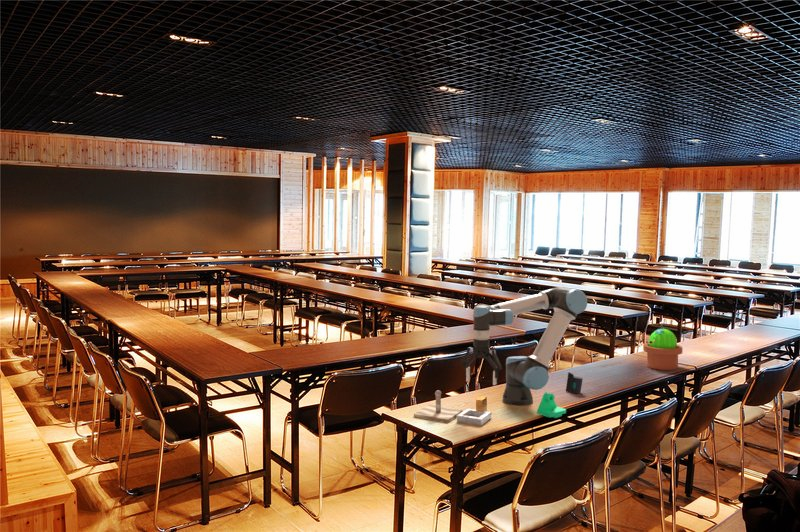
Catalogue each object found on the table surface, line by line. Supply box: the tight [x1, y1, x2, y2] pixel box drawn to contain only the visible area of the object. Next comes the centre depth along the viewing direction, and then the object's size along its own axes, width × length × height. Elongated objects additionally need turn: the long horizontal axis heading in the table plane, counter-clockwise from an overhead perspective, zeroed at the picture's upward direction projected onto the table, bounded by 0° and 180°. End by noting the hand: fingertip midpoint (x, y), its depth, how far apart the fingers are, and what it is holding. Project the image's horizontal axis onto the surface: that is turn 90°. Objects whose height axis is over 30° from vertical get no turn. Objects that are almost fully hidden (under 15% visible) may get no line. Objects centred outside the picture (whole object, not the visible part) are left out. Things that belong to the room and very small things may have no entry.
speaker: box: [565, 371, 583, 394], centre depth 314 cm, size 8×6×10 cm
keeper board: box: [413, 389, 464, 424], centre depth 279 cm, size 16×18×12 cm
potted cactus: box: [642, 328, 683, 371], centre depth 367 cm, size 22×22×25 cm
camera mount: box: [536, 391, 567, 419], centre depth 277 cm, size 12×8×10 cm, turn 124°
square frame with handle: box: [456, 395, 492, 427], centre depth 274 cm, size 18×12×8 cm, turn 150°
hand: (481, 382), depth 279 cm, fingers open, 13 cm apart
